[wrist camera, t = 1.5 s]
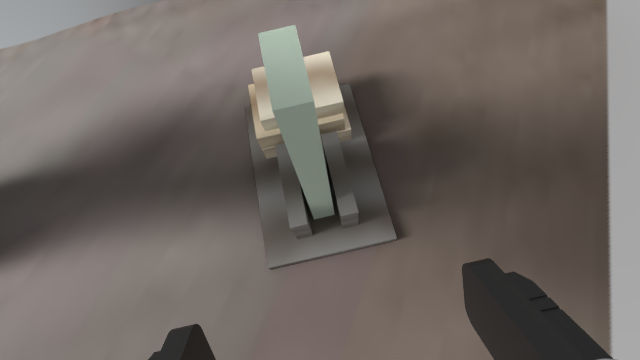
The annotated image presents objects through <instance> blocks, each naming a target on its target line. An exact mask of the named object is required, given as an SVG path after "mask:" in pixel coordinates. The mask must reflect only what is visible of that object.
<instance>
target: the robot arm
mask: <svg viewBox="0 0 640 360" xmlns="http://www.w3.org/2000/svg"><path fill="white" fill-rule="evenodd" d="M462 275H463V288H464V300H465V308H466V312H467V315H468V317H469V320H470V322H471V324H472V326H473V327H474V329H475V331H476V332H477V334H478V335H479V337H480V338H481V340H482V341H483V343H484V344H485V346H486V348H487V349H488V351H489V352H490V354H491V355H492V357H493V358H494V360H615V359H613V358H612V357H611V356H609V355H608V354H607V353H606V352H605V351H604V350H603V349H602V348H601V347H600V346H599V345H598V344H597V343H596V342H595V341H594V340H593V339H592V338H591V337H590V336H589V335H588V334H587V333H586V332H585V331H584V330H583V329H582V328H581V327H579V326H578V325H577V324H576V323H575V322H574V321H573V320H572V319H571V318H570V317H569V316H568V315H567V314H566V313H565V312H564V311H563V310H562V309H561V310H560V309H559V306H558V305H557V304H556V303H555V302H554V301H553V300H552V299H551V298H548V297H547V295H546V294H545V293H544V292H543V291H542V290H541V289H540V288H539V287H538V286H537V285H536V284H535V283H534V282H533V281H531V280H529V279H527V278H525V277H523V276H522V275H520V274H518V273H516V272H510V273H504V272H503V271H502V270H501V269H500V268H499V267H498V266H497V265H496V264H495V262H494V261H493V260H491V259H489V258H487V259H483V260H479V261H474V262H470V263H465V264H463V266H462ZM148 360H216V359H215V357H214V355H213V353H212V350H211V348H210V346H209V344H208V342H207V339H206V337H205V335H204V333H203V330H202V328H201V327H200V325H198V324H194V325H190V326H185V327H181V328H176V329H172V330H171V331H170V332H169V333H168V335H167V338H166V340H165V342H164V344H163V347H162V349H161V351H158V352H154V353H153V355H152V356H151V357H150V358H149V359H148Z"/></svg>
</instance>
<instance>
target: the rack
mask: <svg viewBox="0 0 640 360" xmlns="http://www.w3.org/2000/svg"><path fill="white" fill-rule="evenodd" d="M303 59H304V63H305V67H306V71H307V75H308V79H309V83H310V87H311V91H312V95H313V99H314V104H315V109H316V115H317V120H318V126H319V131H320V137H321V142H322V148H323V153H324V159H325V164H326V170H327V175H328V181H329V186H330V192H331V197H332V203H333V208H334V214H335V215H331V216H327V217H323V218H318V219H314V218H313V215H312V213H311V210H310V207H309V205H308V202H307V200H306V197H305V194H304V192H303V189H302V187H301V184H300V181H299V179H298V176H297V174H296V171H295V168H294V166H293V163H292V161H291V158H290V155H289V153H288V150H287V148H286V145H285V142H284V140H283V137H282V135H281V132H280V129H279V127H278V124H277V122H276V119H275V116H274V114H273V111H272V106H271V101H270V95H269V90H268V84H267V79H266V74H265V68H264V67H259V68H255V69H252V75H253V81H254V84H251V85H248V88H249V94H250V101H251V106H249V107H245V114H246V120H247V127H248V134H249V141H250V148H251V155H252V161H253V168H254V175H255V182H256V189H257V196H258V202H259V209H260V216H261V223H262V230H263V236H264V243H265V250H266V257H267V264H268V268H269V269H270V270H272V269H276V268H280V267H285V266H289V265H293V264H298V263H302V262H306V261H311V260H315V259H319V258H324V257H328V256H332V255H337V254H341V253H345V252H350V251H354V250H358V249H363V248H367V247H371V246H376V245H380V244H384V243H389V242H393V241H396V239H397V237H396V233H395V230H394V227H393V224H392V220H391V217H390V214H389V211H388V207H387V204H386V201H385V198H384V194H383V191H382V188H381V185H380V181H379V178H378V175H377V172H376V168H375V165H374V162H373V159H372V155H371V152H370V149H369V146H368V142H367V139H366V136H365V133H364V129H363V126H362V123H361V119H360V116H359V113H358V110H357V106H356V103H355V100H354V97H353V93H352V90H351V87H350V84H349V83H348V84H344V85H340V86H339V84H338V81H337V77H336V74H335V71H334V67H333V64H332V60H331V57H330V53H329V51H328V52H324V53H319V54H315V55H311V56H306V57H303Z"/></svg>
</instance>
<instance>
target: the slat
mask: <svg viewBox="0 0 640 360" xmlns="http://www.w3.org/2000/svg"><path fill="white" fill-rule="evenodd" d="M258 36H259V41H260V47H261V52H262V57H263V63H264V68H265V74H266V79H267V84H268V90H269V95H270V101H271V106H272V111H273V114H274V116H275V119H276V122H277V124H278V127H279V129H280V132H281V135H282V137H283V140H284V142H285V145H286V148H287V150H288V153H289V155H290V158H291V161H292V163H293V166H294V168H295V171H296V174H297V176H298V179H299V181H300V184H301V187H302V189H303V192H304V194H305V197H306V200H307V202H308V205H309V207H310V210H311V213H312V215H313V218H314V219H318V218H323V217H327V216H331V215H335V214H334V208H333V203H332V197H331V192H330V186H329V181H328V175H327V170H326V164H325V159H324V153H323V148H322V142H321V137H320V131H319V126H318V120H317V115H316V109H315V104H314V99H313V95H312V91H311V87H310V83H309V79H308V75H307V71H306V67H305V63H304V59H303V55H302V51H301V47H300V43H299V39H298V34H297V30H296V26H295V25H292V26H288V27H284V28H279V29H275V30H271V31H266V32H262V33H258Z"/></svg>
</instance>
